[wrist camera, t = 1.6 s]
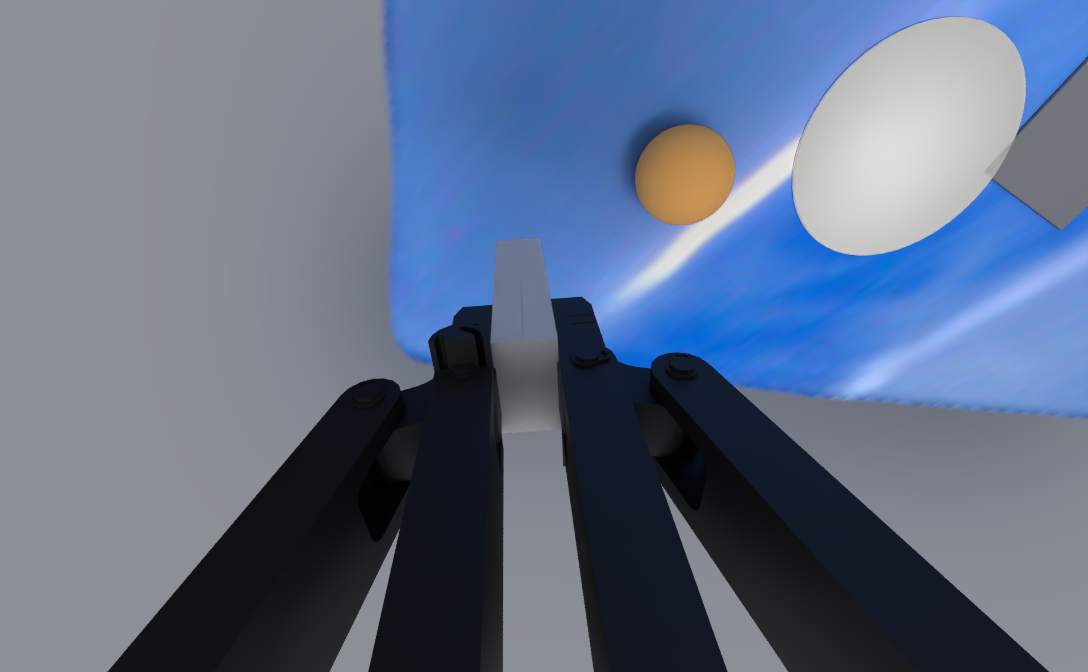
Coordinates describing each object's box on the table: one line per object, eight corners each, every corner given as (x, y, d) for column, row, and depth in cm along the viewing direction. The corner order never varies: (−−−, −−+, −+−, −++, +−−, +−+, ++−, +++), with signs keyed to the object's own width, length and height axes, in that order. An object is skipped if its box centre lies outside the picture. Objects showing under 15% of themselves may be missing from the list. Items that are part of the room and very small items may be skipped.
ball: (692, 98, 27) (730, 108, 22) (726, 178, 30) (766, 202, 25) (610, 153, 28) (630, 173, 24) (649, 225, 31) (674, 256, 26)
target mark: (1015, -45, 24) (1019, -46, 24) (1028, 181, 31) (1030, 182, 31) (763, 115, 28) (764, 116, 28) (822, 289, 34) (824, 290, 34)
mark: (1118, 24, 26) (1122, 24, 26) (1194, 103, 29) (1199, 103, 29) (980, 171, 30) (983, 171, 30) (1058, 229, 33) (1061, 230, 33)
